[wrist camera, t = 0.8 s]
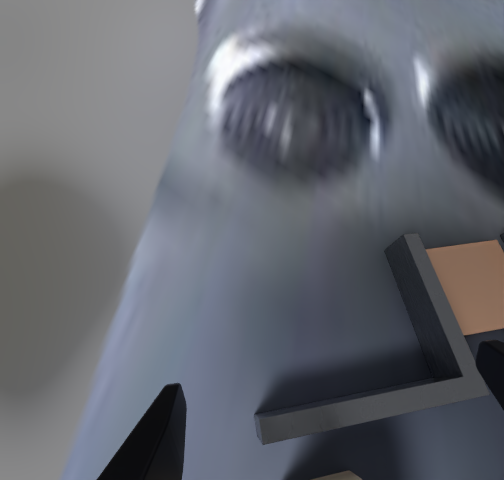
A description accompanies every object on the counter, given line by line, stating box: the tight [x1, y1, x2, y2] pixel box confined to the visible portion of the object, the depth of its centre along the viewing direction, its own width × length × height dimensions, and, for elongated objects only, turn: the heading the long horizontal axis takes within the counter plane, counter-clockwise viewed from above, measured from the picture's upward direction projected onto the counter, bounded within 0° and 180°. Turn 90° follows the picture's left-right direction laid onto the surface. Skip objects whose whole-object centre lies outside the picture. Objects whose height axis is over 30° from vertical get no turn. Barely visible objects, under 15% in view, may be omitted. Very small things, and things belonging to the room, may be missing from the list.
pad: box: [425, 240, 504, 336], centre depth 24 cm, size 7×8×1 cm
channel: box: [254, 233, 504, 445], centre depth 19 cm, size 22×25×3 cm
